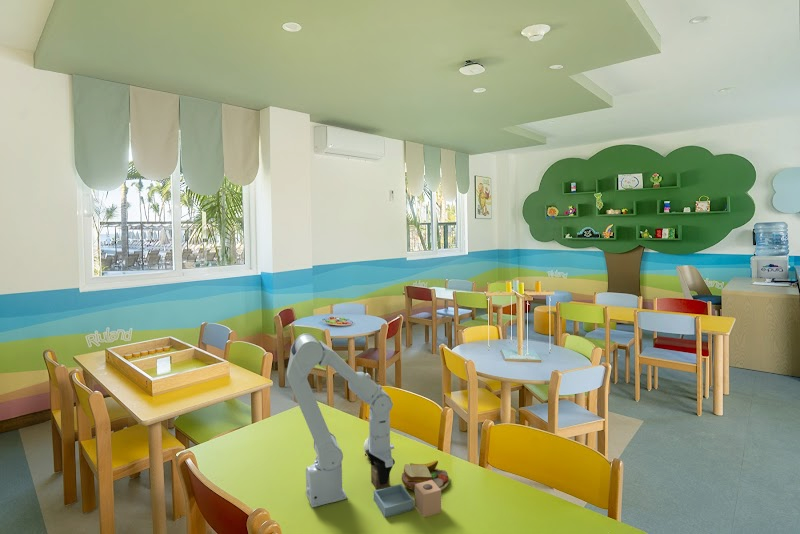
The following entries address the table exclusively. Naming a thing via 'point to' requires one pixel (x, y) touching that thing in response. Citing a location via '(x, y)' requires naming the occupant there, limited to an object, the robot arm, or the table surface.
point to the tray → (393, 500)
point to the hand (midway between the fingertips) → (380, 479)
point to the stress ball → (366, 445)
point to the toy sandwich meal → (424, 475)
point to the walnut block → (375, 479)
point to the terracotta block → (427, 498)
